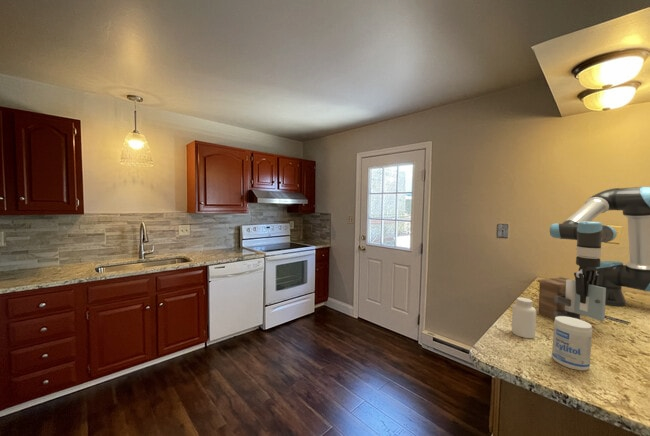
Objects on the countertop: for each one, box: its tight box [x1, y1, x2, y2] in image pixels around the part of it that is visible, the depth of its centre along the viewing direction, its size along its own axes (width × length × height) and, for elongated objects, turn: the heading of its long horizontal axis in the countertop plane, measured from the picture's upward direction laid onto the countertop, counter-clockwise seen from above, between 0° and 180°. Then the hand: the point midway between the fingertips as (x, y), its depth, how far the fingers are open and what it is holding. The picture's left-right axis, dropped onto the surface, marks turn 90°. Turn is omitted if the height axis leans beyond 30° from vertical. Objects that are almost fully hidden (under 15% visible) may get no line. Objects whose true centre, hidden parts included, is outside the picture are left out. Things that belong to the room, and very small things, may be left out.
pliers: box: [605, 315, 632, 325], centre depth 131 cm, size 10×1×20 cm
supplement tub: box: [551, 316, 593, 371], centre depth 90 cm, size 10×10×15 cm
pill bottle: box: [511, 297, 537, 339], centre depth 111 cm, size 8×8×15 cm
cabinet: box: [537, 276, 581, 321], centre depth 128 cm, size 18×14×17 cm
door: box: [565, 279, 606, 322], centre depth 116 cm, size 4×14×14 cm, turn 16°
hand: (585, 310), depth 115 cm, fingers closed on door, 2 cm apart
